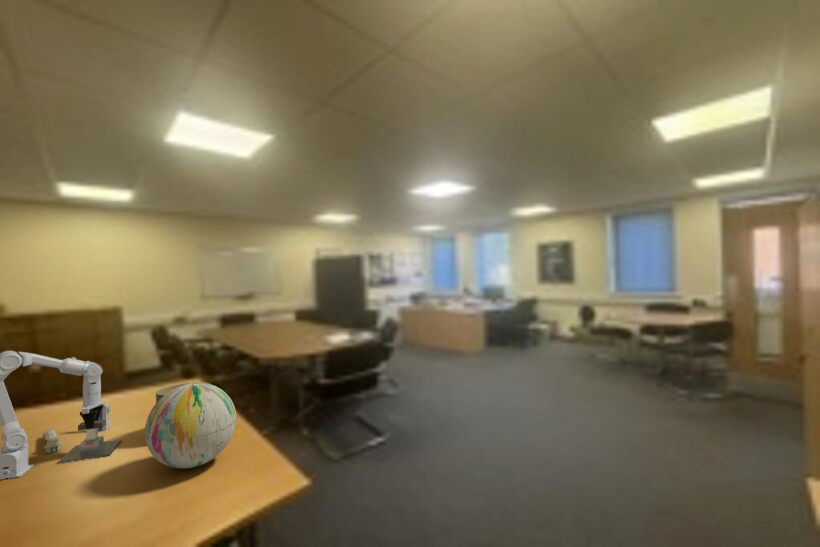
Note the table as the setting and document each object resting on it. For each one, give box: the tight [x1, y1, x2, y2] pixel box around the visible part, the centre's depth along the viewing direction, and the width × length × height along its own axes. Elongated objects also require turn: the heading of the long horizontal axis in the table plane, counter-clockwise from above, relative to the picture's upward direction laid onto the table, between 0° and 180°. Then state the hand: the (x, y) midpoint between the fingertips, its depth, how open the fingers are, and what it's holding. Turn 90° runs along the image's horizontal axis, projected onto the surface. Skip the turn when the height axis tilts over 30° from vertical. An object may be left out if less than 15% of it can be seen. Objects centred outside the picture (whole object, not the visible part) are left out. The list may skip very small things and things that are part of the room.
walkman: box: [98, 403, 111, 432], centre depth 186 cm, size 8×3×12 cm, turn 98°
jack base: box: [58, 435, 123, 465], centre depth 161 cm, size 16×16×5 cm
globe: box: [144, 382, 237, 469], centre depth 148 cm, size 30×30×30 cm
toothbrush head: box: [42, 428, 63, 454], centre depth 169 cm, size 5×7×25 cm
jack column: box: [77, 420, 106, 442], centre depth 161 cm, size 4×8×8 cm, turn 112°
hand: (92, 426), depth 161 cm, fingers closed on jack column, 4 cm apart
